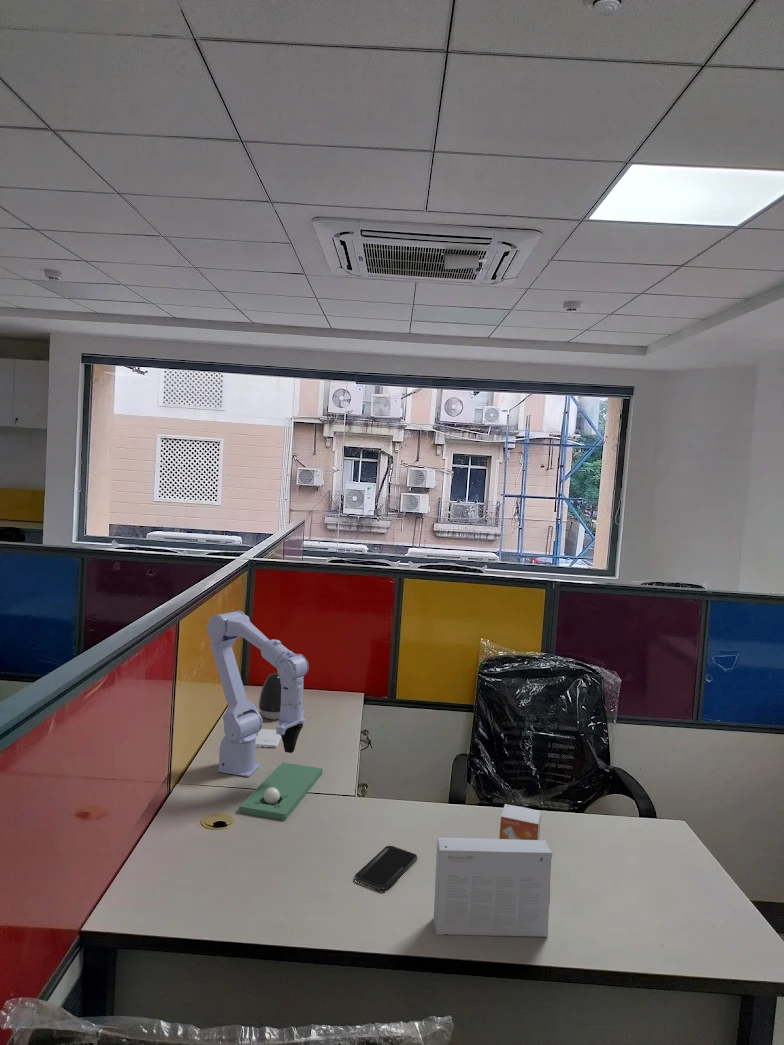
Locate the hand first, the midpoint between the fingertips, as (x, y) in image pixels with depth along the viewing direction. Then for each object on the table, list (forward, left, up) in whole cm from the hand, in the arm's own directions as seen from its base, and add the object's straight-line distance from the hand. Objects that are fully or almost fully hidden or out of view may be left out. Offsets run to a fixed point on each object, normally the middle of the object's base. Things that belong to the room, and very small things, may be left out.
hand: (289, 751), depth 177 cm
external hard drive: (-18, +27, -10) cm, 34 cm away
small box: (+61, -21, -10) cm, 65 cm away
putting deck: (0, -4, -9) cm, 10 cm away
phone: (+34, -29, -10) cm, 46 cm away
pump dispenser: (-24, +46, -10) cm, 53 cm away
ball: (0, -11, -7) cm, 13 cm away
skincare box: (+57, -41, -10) cm, 71 cm away
